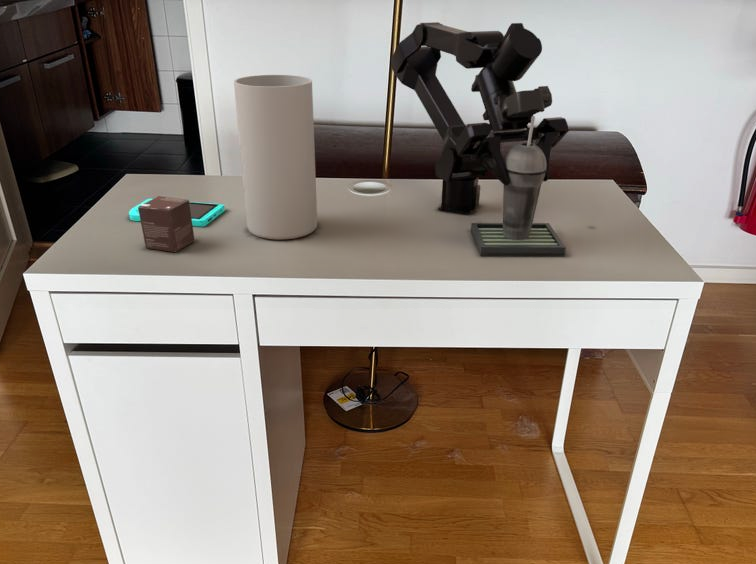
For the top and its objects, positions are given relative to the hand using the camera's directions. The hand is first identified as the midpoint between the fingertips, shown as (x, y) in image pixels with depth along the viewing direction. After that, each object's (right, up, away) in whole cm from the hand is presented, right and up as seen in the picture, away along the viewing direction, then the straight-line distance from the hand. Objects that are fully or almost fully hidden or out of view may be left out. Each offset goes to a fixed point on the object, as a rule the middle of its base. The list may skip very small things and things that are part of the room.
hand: (527, 182), depth 112 cm
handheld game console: (-63, -2, +17) cm, 65 cm away
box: (-60, -10, +4) cm, 60 cm away
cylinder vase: (-42, -6, +11) cm, 44 cm away
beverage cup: (-1, -8, +6) cm, 10 cm away
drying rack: (-1, -9, +7) cm, 11 cm away
